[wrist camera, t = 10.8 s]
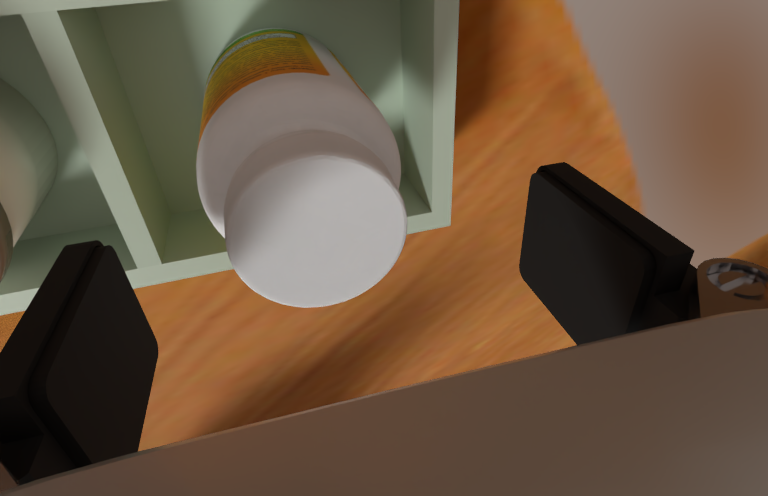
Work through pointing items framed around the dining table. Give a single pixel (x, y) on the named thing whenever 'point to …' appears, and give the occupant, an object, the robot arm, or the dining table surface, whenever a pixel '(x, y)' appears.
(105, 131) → the caddy
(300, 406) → the dining table surface
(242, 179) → the supplement bottle
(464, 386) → the robot arm
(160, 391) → the dining table surface
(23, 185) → the jar
